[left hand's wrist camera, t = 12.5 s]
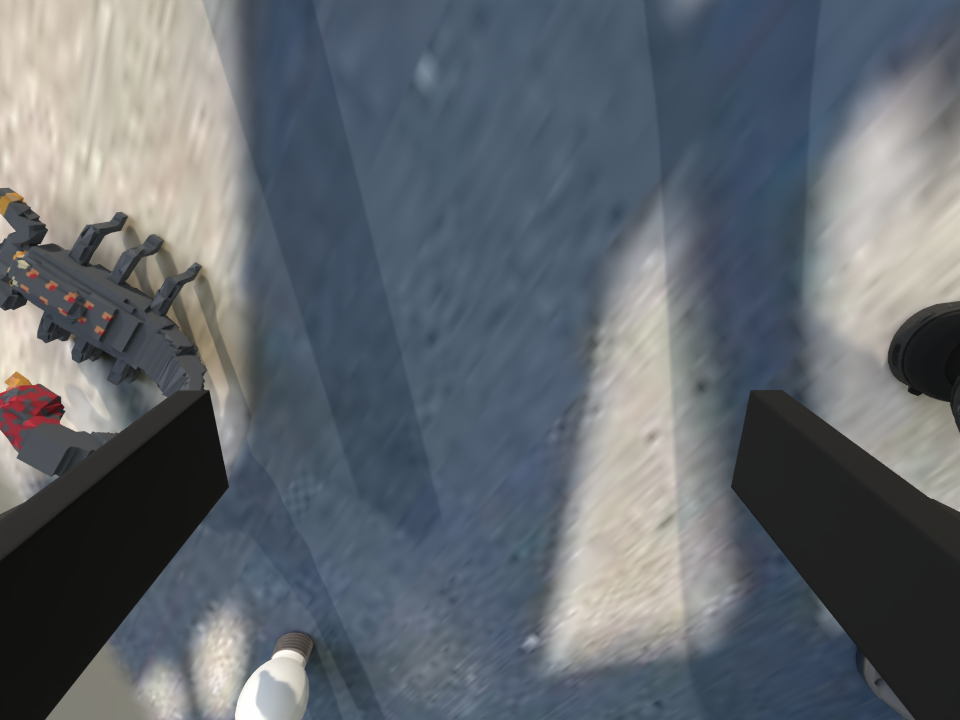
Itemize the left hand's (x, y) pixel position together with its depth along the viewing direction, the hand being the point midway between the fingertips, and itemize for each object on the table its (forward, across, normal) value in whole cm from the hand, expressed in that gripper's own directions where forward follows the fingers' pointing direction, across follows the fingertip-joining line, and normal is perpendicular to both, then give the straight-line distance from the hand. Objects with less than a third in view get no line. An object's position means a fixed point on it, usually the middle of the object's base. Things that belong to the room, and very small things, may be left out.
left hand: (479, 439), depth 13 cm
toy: (+32, -31, -3) cm, 45 cm away
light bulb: (+32, -21, -45) cm, 59 cm away
